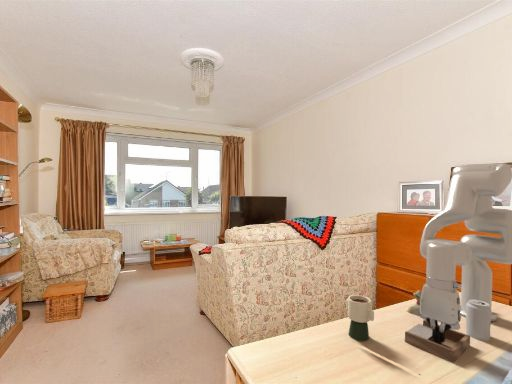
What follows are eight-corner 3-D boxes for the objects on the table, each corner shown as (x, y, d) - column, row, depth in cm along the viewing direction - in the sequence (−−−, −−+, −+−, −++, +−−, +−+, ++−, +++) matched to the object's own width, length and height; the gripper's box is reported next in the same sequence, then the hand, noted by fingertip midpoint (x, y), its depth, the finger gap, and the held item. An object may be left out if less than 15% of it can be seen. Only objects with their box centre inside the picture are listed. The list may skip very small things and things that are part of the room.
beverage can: (494, 344, 89) (495, 307, 89) (471, 342, 90) (472, 305, 90) (482, 334, 95) (483, 299, 95) (461, 332, 97) (462, 297, 97)
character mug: (380, 344, 88) (381, 303, 88) (364, 350, 84) (365, 307, 84) (353, 329, 97) (354, 291, 97) (338, 333, 94) (339, 294, 94)
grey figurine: (427, 321, 104) (428, 294, 104) (405, 314, 110) (405, 288, 110) (432, 317, 108) (433, 291, 108) (410, 310, 114) (410, 285, 114)
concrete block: (418, 329, 96) (419, 323, 96) (438, 336, 91) (438, 330, 91) (405, 338, 90) (405, 332, 90) (425, 346, 85) (425, 340, 85)
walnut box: (424, 331, 97) (424, 319, 97) (469, 348, 86) (470, 335, 86) (404, 344, 88) (405, 332, 88) (453, 365, 78) (453, 351, 78)
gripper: (473, 287, 83) (471, 349, 83) (419, 275, 95) (417, 329, 95) (465, 293, 78) (463, 358, 79) (409, 279, 90) (407, 335, 90)
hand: (438, 342), depth 87 cm, fingers closed
